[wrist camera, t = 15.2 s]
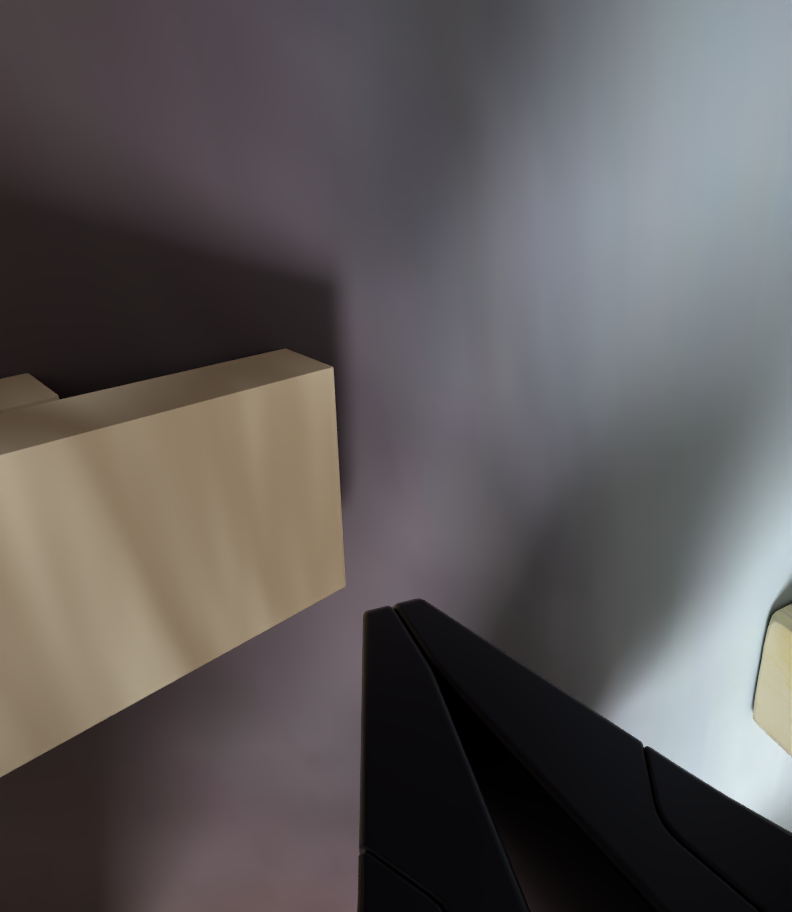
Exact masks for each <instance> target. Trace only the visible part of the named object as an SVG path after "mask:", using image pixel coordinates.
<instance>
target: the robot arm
mask: <svg viewBox="0 0 792 912" xmlns="http://www.w3.org/2000/svg"><path fill="white" fill-rule="evenodd" d="M359 851H360V855H359V866H358V906H357V912H792V833H791V832H789V831H787V830H786V829H784V828H782V827H780V826H779V825H777V824H775V823H773V822H772V821H770V820H768V819H766V818H765V817H763V816H761V815H759V814H758V813H756V812H754V811H752V810H751V809H749V808H747V807H745V806H744V805H742V804H740V803H738V802H737V801H735V800H733V799H731V798H730V797H728V796H726V795H725V794H723V793H721V792H720V791H718V790H717V789H715V788H713V787H712V786H710V785H709V784H707V783H705V782H704V781H702V780H701V779H699V778H697V777H696V776H694V775H693V774H691V773H689V772H688V771H686V770H685V769H683V768H681V767H680V766H678V765H677V764H675V763H674V762H672V761H671V760H669V759H667V758H666V757H664V756H663V755H661V754H660V753H658V752H657V751H655V750H654V749H652V748H651V747H648V746H646V747H643V744H642V742H641V741H639V740H638V739H636V738H635V737H633V736H632V735H630V734H629V733H627V732H626V731H624V730H623V729H621V728H620V727H618V726H616V725H615V724H613V723H612V722H610V721H609V720H607V719H606V718H604V717H603V716H601V715H600V714H598V713H597V712H595V711H593V710H592V709H590V708H589V707H587V706H586V705H584V704H583V703H581V702H580V701H578V700H577V699H575V698H574V697H572V696H570V695H569V694H567V693H566V692H564V691H563V690H561V689H560V688H558V687H557V686H555V685H554V684H552V683H551V682H549V681H548V680H546V679H544V678H543V677H541V676H540V675H538V674H537V673H535V672H534V671H532V670H531V669H529V668H528V667H526V666H525V665H523V664H521V663H520V662H518V661H517V660H515V659H514V658H512V657H511V656H509V655H508V654H506V653H505V652H503V651H502V650H500V649H498V648H497V647H495V646H494V645H492V644H491V643H489V642H488V641H486V640H485V639H483V638H482V637H480V636H479V635H477V634H475V633H474V632H472V631H471V630H469V629H468V628H466V627H465V626H463V625H462V624H460V623H459V622H457V621H456V620H454V619H453V618H451V617H449V616H448V615H446V614H445V613H443V612H442V611H440V610H439V609H437V608H436V607H434V606H433V605H431V604H430V603H428V602H426V601H425V600H423V599H413V600H409V601H405V602H401V603H397V604H395V605H394V606H393V607H390V606H385V607H381V608H377V609H373V610H369V611H366V612H365V613H364V615H363V648H362V709H361V769H360V829H359Z"/></svg>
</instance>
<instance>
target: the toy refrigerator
mask: <svg viewBox="0 0 792 912" xmlns="http://www.w3.org/2000/svg"><path fill="white" fill-rule="evenodd" d="M753 719H754V721H755V722H756V723H757V725H758V726H759V727H760V728H761V729H762V730H763V731H764V732H765V733H766V734H768V735H769V736H770V737H771V738H772V739H773V740H774V741H775V742H776V743H777V744H778V745H779V746H781V747H782V748H783V749H784V750H785V751H786V752H787V753H788V754H789V755H790V756H791V757H792V604H790V605H788V606H785V607H783V608H781V609H779V610H778V611H776V612H775V613H774V614H773V615H772V618H771V620H770V623H769V626H768V629H767V633H766V638H765V642H764V647H763V654H762V660H761V666H760V671H759V676H758V682H757V688H756V693H755V701H754V709H753Z"/></svg>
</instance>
